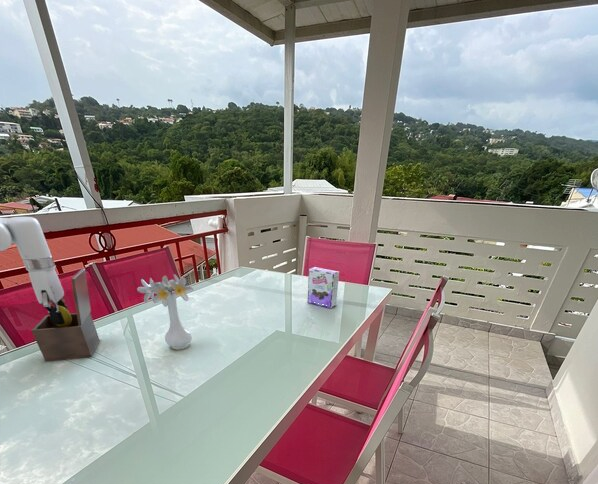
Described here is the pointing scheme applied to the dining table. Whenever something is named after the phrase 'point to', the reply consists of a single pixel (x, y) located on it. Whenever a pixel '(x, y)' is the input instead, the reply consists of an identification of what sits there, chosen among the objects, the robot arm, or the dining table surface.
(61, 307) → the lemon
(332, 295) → the candy box
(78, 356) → the box
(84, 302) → the breadbox lid
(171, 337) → the flower vase
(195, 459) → the dining table surface
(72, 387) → the dining table surface
